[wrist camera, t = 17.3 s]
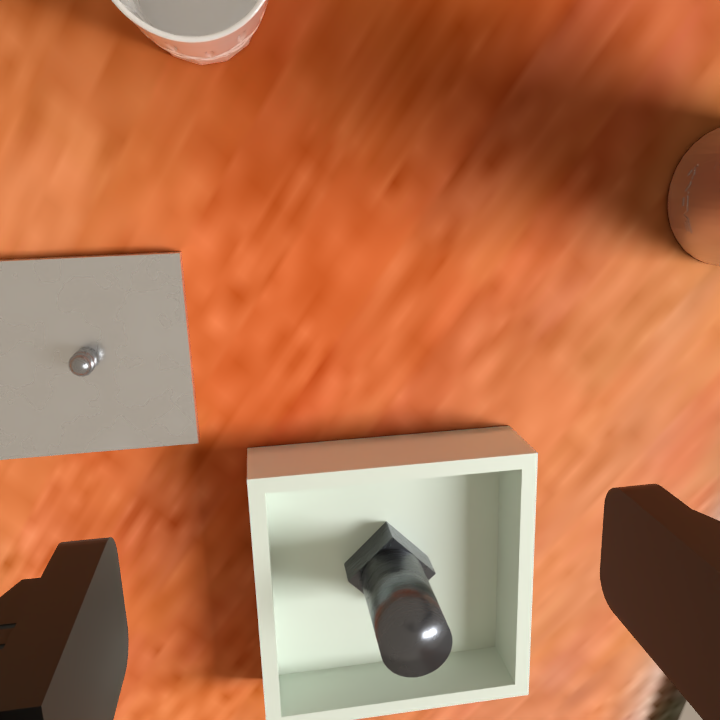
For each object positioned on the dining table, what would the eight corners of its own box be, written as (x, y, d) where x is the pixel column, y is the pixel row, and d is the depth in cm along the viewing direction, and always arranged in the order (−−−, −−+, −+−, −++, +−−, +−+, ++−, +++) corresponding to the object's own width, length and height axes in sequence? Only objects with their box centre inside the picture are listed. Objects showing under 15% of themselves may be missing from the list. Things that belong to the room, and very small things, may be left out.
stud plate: (181, 251, 41) (175, 256, 38) (199, 437, 44) (195, 455, 42) (-31, 261, 40) (-54, 267, 37) (3, 453, 43) (-15, 474, 40)
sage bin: (509, 425, 48) (537, 452, 43) (503, 647, 52) (528, 694, 48) (247, 447, 45) (246, 479, 40) (265, 678, 50) (266, 732, 45)
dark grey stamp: (386, 521, 47) (417, 599, 38) (427, 556, 48) (467, 640, 39) (343, 563, 47) (364, 651, 38) (386, 597, 48) (416, 689, 40)
